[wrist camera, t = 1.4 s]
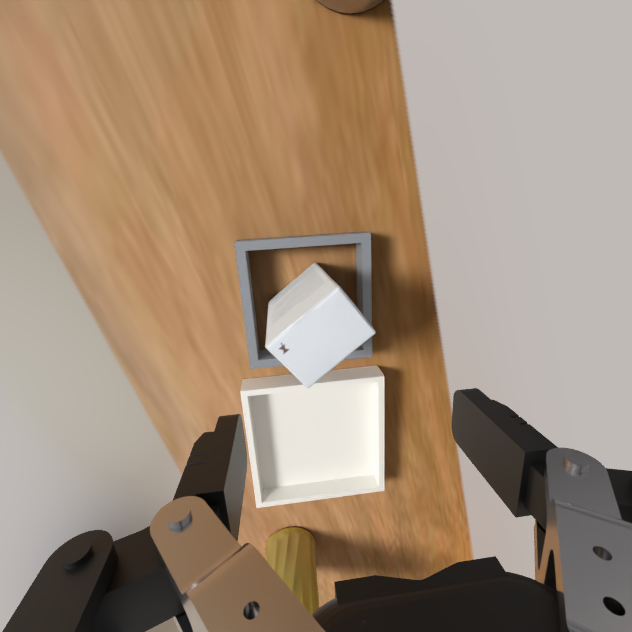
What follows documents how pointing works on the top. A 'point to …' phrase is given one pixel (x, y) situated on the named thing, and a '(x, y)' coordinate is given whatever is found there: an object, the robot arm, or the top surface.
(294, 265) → the top surface
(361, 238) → the frame
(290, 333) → the skincare box
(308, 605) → the vase
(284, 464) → the tray
